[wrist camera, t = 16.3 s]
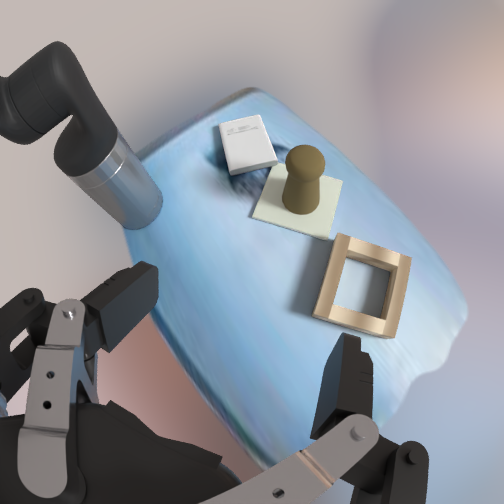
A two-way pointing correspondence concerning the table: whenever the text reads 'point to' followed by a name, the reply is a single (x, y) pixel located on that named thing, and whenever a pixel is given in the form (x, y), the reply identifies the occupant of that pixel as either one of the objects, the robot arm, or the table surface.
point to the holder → (394, 293)
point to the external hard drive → (247, 145)
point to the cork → (303, 179)
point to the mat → (309, 224)
